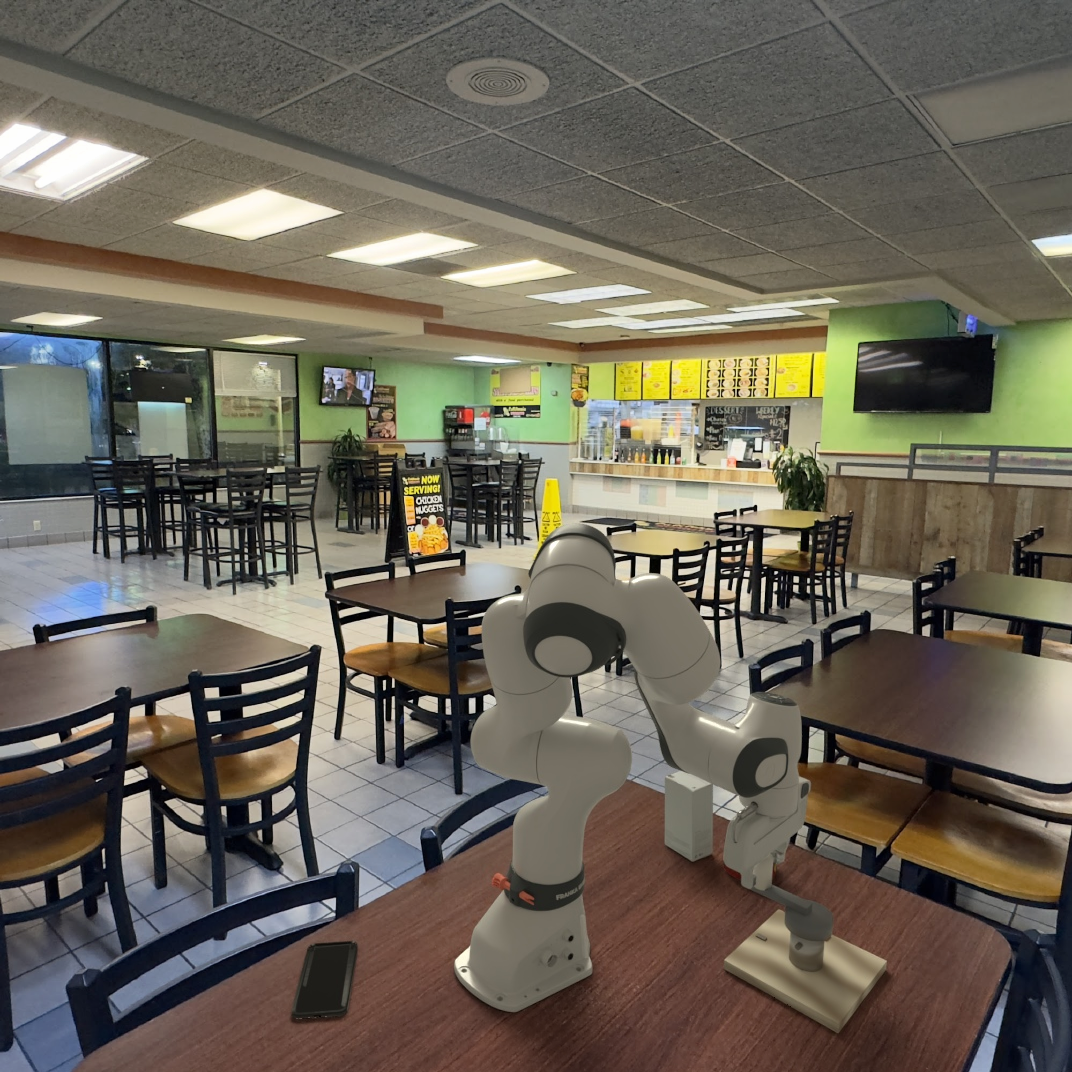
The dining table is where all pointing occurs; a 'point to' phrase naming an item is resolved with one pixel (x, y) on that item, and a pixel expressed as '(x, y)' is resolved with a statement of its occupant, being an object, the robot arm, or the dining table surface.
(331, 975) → the phone
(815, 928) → the white knob lever
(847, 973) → the mount board
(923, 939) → the dining table surface
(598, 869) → the dining table surface
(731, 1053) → the dining table surface
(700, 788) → the skincare box
